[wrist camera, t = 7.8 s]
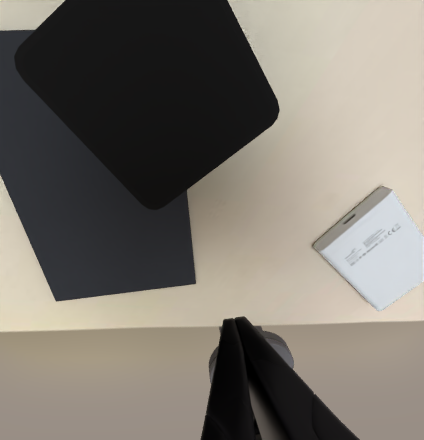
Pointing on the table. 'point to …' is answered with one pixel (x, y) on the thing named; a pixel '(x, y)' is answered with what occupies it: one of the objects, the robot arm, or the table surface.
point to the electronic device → (150, 87)
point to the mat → (82, 203)
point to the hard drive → (377, 249)
